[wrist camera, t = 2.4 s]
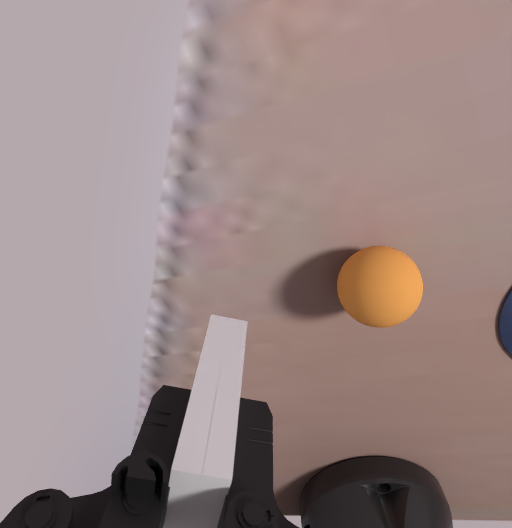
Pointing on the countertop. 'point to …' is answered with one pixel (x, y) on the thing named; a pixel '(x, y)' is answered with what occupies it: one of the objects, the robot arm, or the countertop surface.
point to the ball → (379, 286)
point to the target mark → (506, 323)
